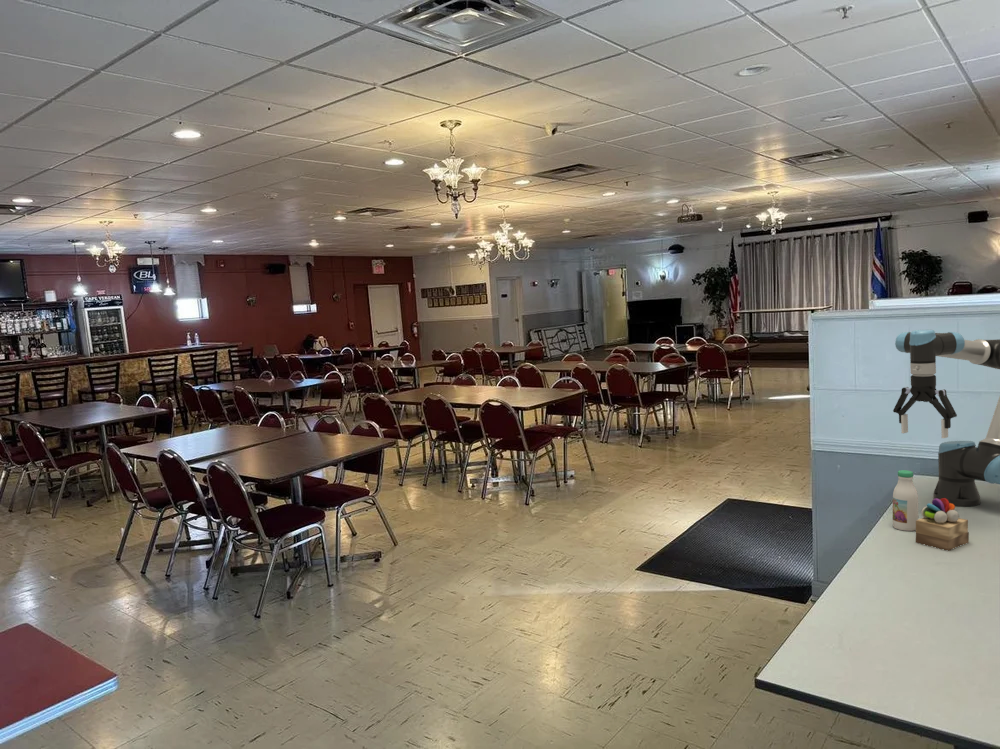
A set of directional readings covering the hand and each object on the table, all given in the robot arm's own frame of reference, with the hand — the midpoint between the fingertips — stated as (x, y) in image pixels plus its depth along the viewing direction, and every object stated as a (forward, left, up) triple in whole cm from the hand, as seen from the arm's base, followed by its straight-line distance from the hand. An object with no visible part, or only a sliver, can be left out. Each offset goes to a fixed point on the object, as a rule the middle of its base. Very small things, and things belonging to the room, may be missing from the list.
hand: (924, 435), depth 243 cm
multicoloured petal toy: (+16, +14, -24) cm, 32 cm away
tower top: (+15, +15, -28) cm, 35 cm away
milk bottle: (+10, 0, -31) cm, 33 cm away
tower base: (+15, +15, -32) cm, 38 cm away
